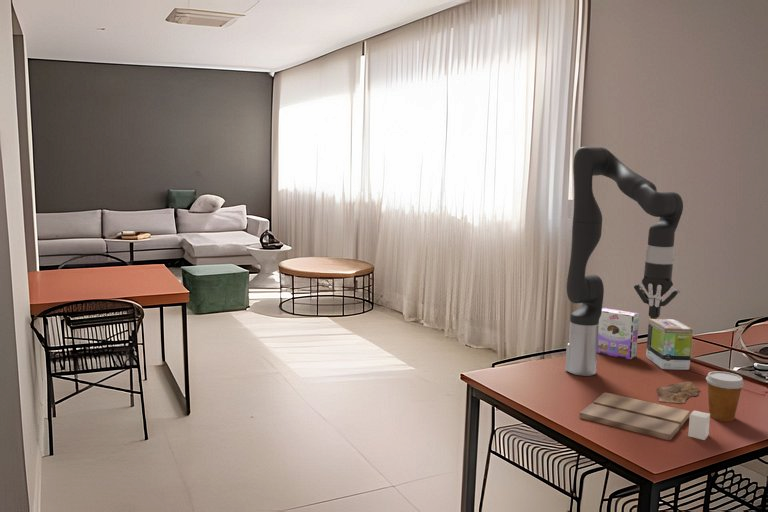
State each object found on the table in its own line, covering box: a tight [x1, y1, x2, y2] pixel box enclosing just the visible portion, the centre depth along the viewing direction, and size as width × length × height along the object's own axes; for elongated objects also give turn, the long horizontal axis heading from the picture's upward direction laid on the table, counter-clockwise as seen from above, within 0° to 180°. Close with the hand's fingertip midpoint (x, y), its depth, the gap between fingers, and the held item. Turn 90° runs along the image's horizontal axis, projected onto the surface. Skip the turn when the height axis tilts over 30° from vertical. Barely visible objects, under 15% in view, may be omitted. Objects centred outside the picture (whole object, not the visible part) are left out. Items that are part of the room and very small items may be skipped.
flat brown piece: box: [656, 380, 701, 405], centre depth 208 cm, size 26×11×1 cm, turn 135°
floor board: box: [579, 403, 681, 441], centre depth 182 cm, size 24×10×2 cm, turn 52°
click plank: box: [592, 392, 691, 429], centre depth 190 cm, size 24×9×2 cm, turn 52°
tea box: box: [645, 318, 694, 371], centre depth 236 cm, size 15×10×15 cm, turn 179°
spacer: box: [687, 409, 711, 441], centre depth 174 cm, size 4×4×6 cm
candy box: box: [597, 307, 640, 360], centre depth 246 cm, size 14×6×16 cm, turn 47°
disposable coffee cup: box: [705, 370, 745, 422], centre depth 187 cm, size 10×10×12 cm
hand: (654, 318), depth 197 cm, fingers closed
